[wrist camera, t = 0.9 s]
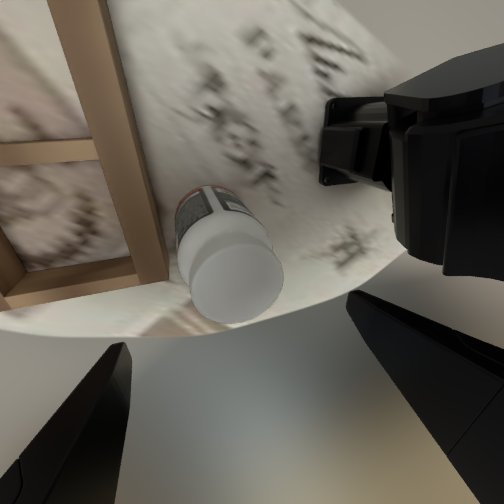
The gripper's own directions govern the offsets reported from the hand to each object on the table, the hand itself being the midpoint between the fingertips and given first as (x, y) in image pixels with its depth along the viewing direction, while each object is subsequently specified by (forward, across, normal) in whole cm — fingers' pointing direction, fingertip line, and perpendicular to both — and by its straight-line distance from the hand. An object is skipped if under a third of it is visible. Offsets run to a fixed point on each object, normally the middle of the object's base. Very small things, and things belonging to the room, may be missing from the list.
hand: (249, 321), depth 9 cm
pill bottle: (+13, 0, 0) cm, 13 cm away
